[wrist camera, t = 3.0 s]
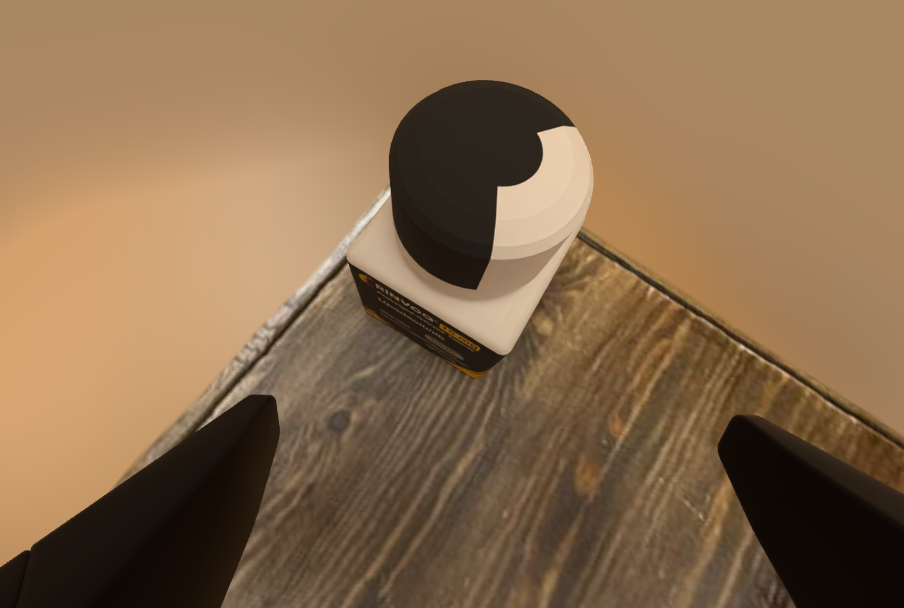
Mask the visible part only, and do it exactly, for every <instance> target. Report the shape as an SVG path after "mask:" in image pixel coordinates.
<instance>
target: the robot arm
mask: <svg viewBox="0 0 904 608" xmlns="http://www.w3.org/2000/svg"><path fill="white" fill-rule="evenodd" d="M279 435H280V427H279V419H278V412H277V404H276V400H275V398H274V397H273V396H272V395H257V394H254V395H249V396H248V397H246V398H244V399H243V400H242V401H240V402H239V403H237V404H236V405H234V406H233V407H231V408H230V409H229V410H227V411H226V412H224V413H223V414H221V415H220V416H218V417H217V418H216V419H214V420H213V421H211V422H210V423H208V424H207V425H205V426H204V427H203V428H201V429H200V430H198V431H197V432H195V433H194V434H193V435H191V436H190V437H188V438H187V439H185V440H184V441H182V442H181V443H180V444H178V445H177V446H175V447H174V448H172V449H171V450H169V451H168V452H167V453H165V454H164V455H162V456H161V457H159V458H158V459H156V460H155V461H154V462H152V463H151V464H149V465H148V466H146V467H145V468H143V469H142V470H141V471H139V472H138V473H136V474H135V475H133V476H132V477H130V478H129V479H128V480H126V481H125V482H123V483H122V484H120V485H119V486H117V487H116V488H115V489H113V490H112V491H110V492H109V493H107V494H106V495H104V496H103V497H102V498H100V499H99V500H97V501H96V502H94V503H93V504H92V505H90V506H89V507H87V508H86V509H84V510H83V511H81V512H80V513H79V514H77V515H76V516H74V517H73V518H71V519H70V520H68V521H67V522H65V523H64V524H63V525H61V526H60V527H58V528H57V529H55V530H54V531H52V532H51V533H50V534H48V535H47V536H45V537H44V538H42V539H41V540H40V541H38V542H37V543H35V544H34V545H33V546H32V547H31V550H30V551H29V550H26V551H24V552H22V553H20V554H19V555H17V556H16V557H15V558H13V559H12V560H10V561H9V562H7V563H6V564H5V565H3V566H2V567H0V608H221V605H222V603H223V601H224V598H225V596H226V593H227V591H228V588H229V586H230V583H231V581H232V578H233V576H234V574H235V571H236V569H237V566H238V564H239V561H240V559H241V556H242V554H243V551H244V549H245V547H246V544H247V542H248V539H249V537H250V534H251V531H252V529H253V526H254V523H255V521H256V517H257V514H258V511H259V507H260V504H261V500H262V497H263V493H264V490H265V487H266V483H267V480H268V476H269V473H270V469H271V466H272V462H273V459H274V455H275V452H276V448H277V445H278V441H279ZM718 454H719V457H720V460H721V462H722V464H723V466H724V468H725V471H726V473H727V475H728V477H729V479H730V481H731V484H732V486H733V488H734V490H735V492H736V495H737V497H738V499H739V501H740V503H741V506H742V508H743V510H744V512H745V514H746V517H747V519H748V521H749V523H750V525H751V527H752V529H753V531H754V533H755V535H756V537H757V539H758V540H759V542H760V544H761V546H762V548H763V549H764V551H765V553H766V555H767V556H768V558H769V560H770V562H771V564H772V565H773V567H774V569H775V571H776V572H777V574H778V576H779V578H780V580H781V581H782V583H783V585H784V587H785V588H786V590H787V592H788V594H789V595H790V597H791V599H792V601H793V603H794V604H795V606H796V608H904V494H903V493H901V492H899V491H897V490H895V489H894V488H892V487H890V486H888V485H886V484H884V483H882V482H881V481H879V480H877V479H875V478H873V477H871V476H869V475H868V474H866V473H864V472H862V471H860V470H858V469H856V468H855V467H853V466H851V465H849V464H847V463H845V462H843V461H842V460H840V459H838V458H836V457H834V456H832V455H830V454H829V453H827V452H825V451H823V450H821V449H819V448H817V447H816V446H814V445H812V444H810V443H808V442H806V441H804V440H803V439H801V438H799V437H797V436H795V435H793V434H791V433H790V432H788V431H786V430H784V429H782V428H780V427H779V426H777V425H775V424H773V423H771V422H769V421H767V420H766V419H764V418H762V417H760V416H756V415H735V416H734V417H733V418H732V419H731V420H730V422H729V424H728V426H727V428H726V430H725V432H724V433H723V435H722V437H721V439H720V441H719V443H718Z"/></svg>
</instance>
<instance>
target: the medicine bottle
mask: <svg viewBox="0 0 904 608" xmlns="http://www.w3.org/2000/svg"><path fill="white" fill-rule="evenodd" d="M389 174H390V188H391V195H390V197H389V198H388V199H387V201H386V202H385V203H384V204H383V206H382V207H381V208H380V209H379V211H378V212H377V213H376V215H375V216H374V217H373V218H372V220H371V221H370V222H369V224H368V225H367V226H366V227H365V229H364V230H363V231H362V233H361V234H360V235H359V236H358V238H357V239H356V240H355V242H354V243H353V244H352V245H351V247H350V248H349V249H348V252H347V254H346V257H347V261H348V264H349V267H350V269H351V272H352V275H353V278H354V281H355V283H356V286H357V289H358V292H359V295H360V298H361V300H362V303H363V306H364V309H365V310H366V311H367V312H368V313H370V314H371V315H373V316H374V317H376V318H378V319H379V320H381V321H382V322H384V323H386V324H387V325H389V326H391V327H392V328H394V329H395V330H397V331H399V332H400V333H402V334H403V335H405V336H407V337H408V338H410V339H411V340H413V341H415V342H416V343H418V344H419V345H421V346H423V347H424V348H426V349H427V350H429V351H431V352H432V353H434V354H435V355H437V356H439V357H440V358H442V359H443V360H445V361H447V362H448V363H450V364H452V365H453V366H455V367H456V368H458V369H460V370H461V371H463V372H464V373H466V374H468V375H469V376H471V377H473V378H479V377H481V376H482V375H483V374H484V373H485V372H487V371H488V370H489V369H490V368H492V367H493V366H494V365H495V364H496V363H498V362H499V361H500V360H501V359H502V358H504V357H505V356H506V355H507V354H508V353H509V352H510V351H511V350H512V349H513V347H514V345H515V343H516V341H517V340H518V338H519V336H520V334H521V333H522V331H523V329H524V327H525V326H526V324H527V322H528V320H529V318H530V317H531V315H532V313H533V311H534V310H535V308H536V306H537V304H538V302H539V301H540V299H541V297H542V295H543V294H544V292H545V290H546V288H547V287H548V285H549V283H550V281H551V279H552V278H553V276H554V274H555V272H556V271H557V269H558V267H559V265H560V264H561V262H562V260H563V258H564V256H565V255H566V253H567V251H568V249H569V248H570V246H571V244H572V242H573V240H574V239H575V237H576V235H577V233H578V232H579V230H580V228H581V226H582V225H583V223H584V221H585V217H586V211H587V209H588V207H589V204H590V201H591V197H592V192H593V181H594V178H593V167H592V163H591V159H590V155H589V153H588V150H587V147H586V145H585V143H584V141H583V139H582V137H581V135H580V134H579V132H578V130H577V129H576V127H575V126H574V124H573V123H572V122H571V121H570V119H569V118H568V117H567V116H566V115H565V114H564V113H563V112H562V111H561V110H560V109H559V108H558V107H557V106H555V105H554V104H553V103H551V102H550V101H549V100H547V99H545V98H544V97H542V96H541V95H539V94H537V93H535V92H533V91H531V90H529V89H526V88H523V87H521V86H518V85H514V84H510V83H506V82H500V81H491V80H476V81H466V82H462V83H458V84H454V85H451V86H448V87H445V88H443V89H441V90H439V91H437V92H435V93H433V94H431V95H429V96H428V97H426V98H424V99H423V100H422V101H420V102H419V103H417V104H416V105H415V106H414V107H413V108H412V109H411V110H410V111H409V112H408V113H407V114H406V116H405V117H404V118H403V119H402V121H401V122H400V124H399V126H398V128H397V130H396V131H395V134H394V137H393V140H392V142H391V147H390V154H389Z"/></svg>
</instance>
